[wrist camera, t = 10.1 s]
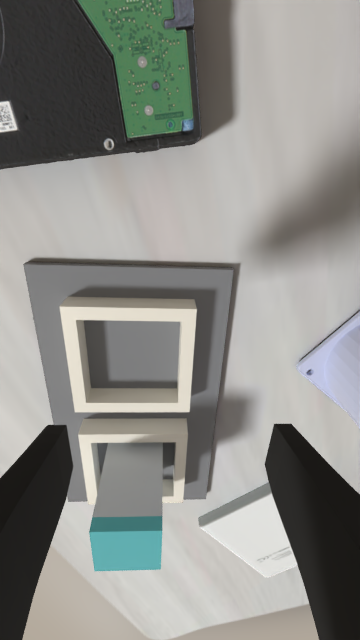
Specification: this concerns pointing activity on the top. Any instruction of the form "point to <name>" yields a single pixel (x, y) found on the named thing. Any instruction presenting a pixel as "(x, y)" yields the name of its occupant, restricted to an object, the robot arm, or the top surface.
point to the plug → (129, 508)
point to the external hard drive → (252, 531)
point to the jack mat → (135, 351)
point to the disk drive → (95, 78)
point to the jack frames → (129, 398)
